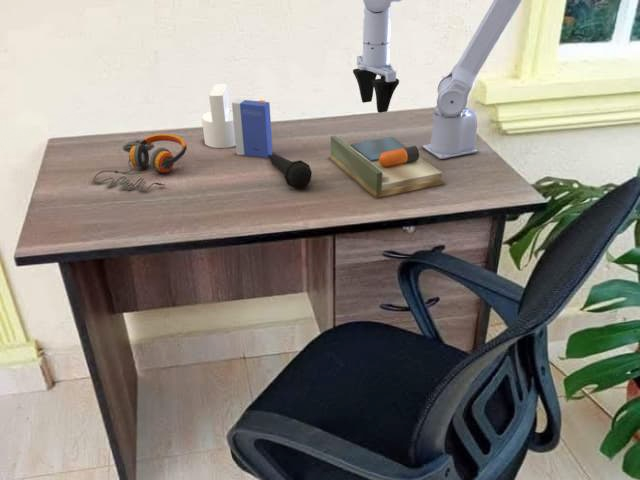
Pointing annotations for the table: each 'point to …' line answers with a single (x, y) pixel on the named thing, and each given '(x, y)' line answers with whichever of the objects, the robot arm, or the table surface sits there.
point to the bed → (382, 167)
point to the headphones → (159, 159)
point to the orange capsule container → (399, 156)
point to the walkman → (252, 128)
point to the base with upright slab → (219, 119)
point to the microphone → (292, 171)
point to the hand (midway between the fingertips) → (374, 106)
